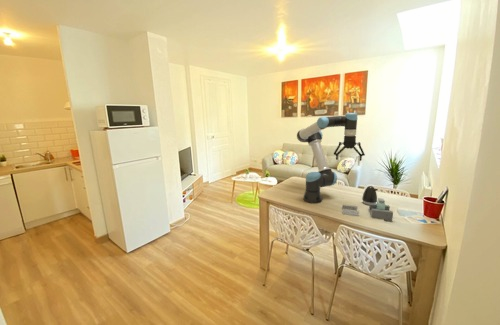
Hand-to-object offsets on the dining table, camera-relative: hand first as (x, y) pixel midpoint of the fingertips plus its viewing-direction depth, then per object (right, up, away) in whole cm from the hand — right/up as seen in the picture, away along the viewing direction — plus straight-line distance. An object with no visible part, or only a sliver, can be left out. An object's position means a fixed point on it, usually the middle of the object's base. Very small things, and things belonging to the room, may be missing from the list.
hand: (348, 164), depth 150 cm
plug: (+20, -36, -6) cm, 41 cm away
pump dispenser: (+23, -32, +13) cm, 41 cm away
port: (+20, -36, -6) cm, 42 cm away
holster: (+2, -35, +1) cm, 36 cm away
